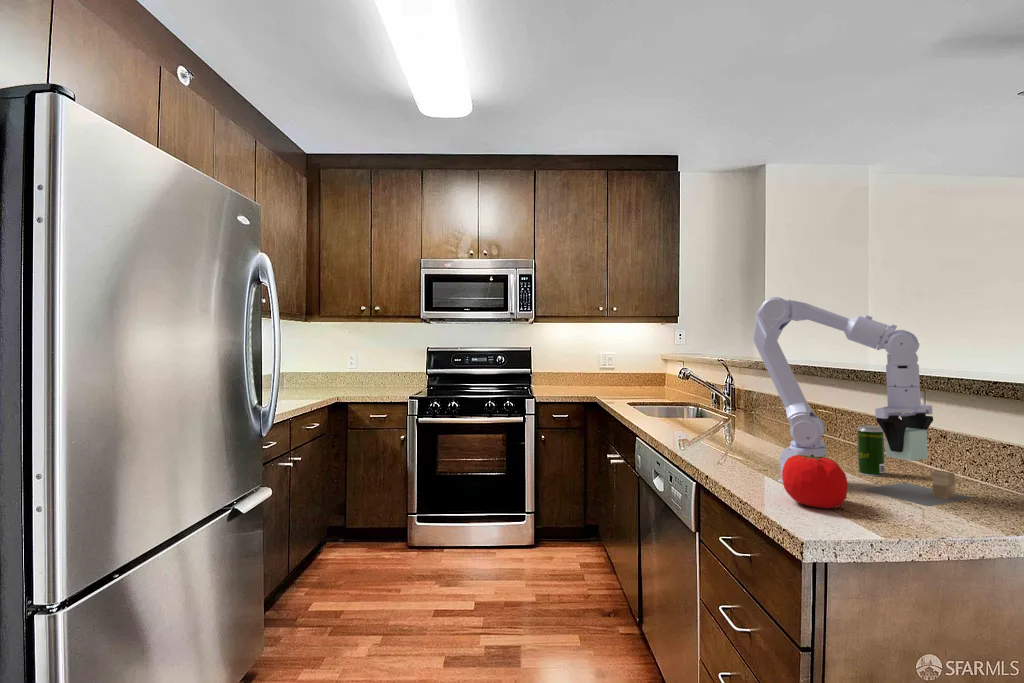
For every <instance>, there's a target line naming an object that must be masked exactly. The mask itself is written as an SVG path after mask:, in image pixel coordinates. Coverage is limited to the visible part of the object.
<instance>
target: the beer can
mask: <svg viewBox="0 0 1024 683" xmlns="http://www.w3.org/2000/svg"><path fill="white" fill-rule="evenodd" d="M856 434H857V436H856V438H857V463H858V464H857V468H858V473H859V474H860V475H863V476H866V477H884V476H885V474H886V470H885V469H886V468H885V467H886V465H885V433H884V431H883V430H882V428H881V426H880V425H876V424H875V425H874V424H858V425H857V429H856Z"/></svg>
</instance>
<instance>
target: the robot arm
mask: <svg viewBox="0 0 1024 683" xmlns="http://www.w3.org/2000/svg"><path fill="white" fill-rule="evenodd" d="M755 313H756V316H755V317H756V321H755V329H754V333H753V343H754V344H755V347H756V349H757V352H758V353H759V355H760V358H761V360H762V362H763V364H764V366H765V368H766V371H767V373H768V374H769V377H770V378H771V382H772V383H773V385H774V387H775V389H776V391H777V393H778V395H779V398H780V400H781V402H782V404H783V406H784V408H785V412H786V413H785V414H786V418H787V420H788V423H789V426H790V427H789V434H790V437H791V439H792V440H791V441H790V445H789V447H784V449H783V450H782V451H781V453H780V457H779V458H780V459H779V460H780V462H779V463H780V464H779V465H780V479H778V480H777V482H780V483H783V480H782V470H783V467H784V464H785V462H786V461H787V459H788V458H790V457H792V456H794V455H807V456H810V455H811V454H814V456H815V457H820V456H823V457H825V458H827V443H825V442H824V441H823V439H822V437H823V436H824V434H825V432H826V426H825V422H824V421H823V420H822V419H821V418H820V417H819V416H817V415H816V414H815V412H814V410H813V409H812V407H811V406H810V404H809V403H808V402H807V399H806V397H805V395H804V393H803V391H802V389H801V387H800V385H799V383H798V381H797V378H796V377H795V374H794V373H793V370H792V368H791V367H790V364H789V363H788V360H787V358H786V356H785V354H784V351H783V350H782V348H781V345H780V343H779V341H778V340H779V338H780V336H781V334H782V333H783V330H784V328H785V327H786V326H788V325H789V323H790V322H791V321H793V322H794V321H795V322H800V321H811V322H814V323H816V324H820V325H823V326H826V327H830V328H833V329H836V330H839V331H842V332H844V334H845V337H846V338H847V339H846V340H849V341H850V342H851V341H852V342H854V343H857V344H859V345H863V346H865V347H869V348H871V349H874V350H877V351H879V350H885V351H886V353H887V354H886V355H887V356H886V358H887V362H886V365H885V373H886V374H885V376H886V395H887V397H886V398H887V401H886V402H887V405H886V406H883V407H879V408H875V409H874V412H875V419H876V422H877V424H878V426H881V428H882V430H883V432H884V437H885V436H886V438H887V441H888V444H889V447H890V450H891V451H895V452H902V451H903V446H904V433H905V429H906V428H914V429H923V430H927V431H928V430H929V427H930V426H931V425H932V423H933V422H934V416H933V405H932V404H921V403H922V402H921V390H920V389H921V385H920V384H921V383H920V381H921V379H920V365H919V364H918V362H919V356H918V354H917V352H918V350H919V349H920V343H919V339H918V338H917V337H916V335H915V334H914V333H913V332H911V331H909V330H908V331H907V330H905V329H897V327H898V326H897V325H896V324H893V323H892V324H891V325H888V324H886V323H883V322H880V321H876V320H874V319H873V316H871V315H867V314H866V315H865V316H862V315H857V316H855V317H852V318H848V317H846V316H843V315H840V314H837V313H834V312H833V311H830V310H827V309H823V308H820V307H818V306H816V305H812V304H809V303H806V302H802V301H797V300H791V299H787V300H786V299H784V298H782V297H779V296H773V297H769V298H767V299H765V300H764V301H763V302H762V304H761V305H760V307H759V308H758V310H757V312H755ZM824 455H826V456H824Z"/></svg>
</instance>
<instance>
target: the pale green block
mask: <svg viewBox="0 0 1024 683" xmlns="http://www.w3.org/2000/svg"><path fill="white" fill-rule="evenodd" d="M884 450H885V457H886V458H893V459H899V460H903V461H910V462H914V461H921V460H922V461H923V460H929V455H928V454H929V452H928V451H929V450H928V430H923V429H914V428H906V429H905V433H904V446H903V451H902V452H895V451H891V450H890V447H889V444H888V441H887V438H886V436H885V435H884Z"/></svg>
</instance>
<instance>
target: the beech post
mask: <svg viewBox="0 0 1024 683" xmlns="http://www.w3.org/2000/svg"><path fill="white" fill-rule="evenodd" d="M931 474H932V475H931V477H932V489H933V496H935V497H940V498H944V499H951V498H955V494H956V481H955V480H956V479H955V472H951V471H950V472H949V471H946V470H945V471H944V470H934V471H931Z"/></svg>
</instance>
